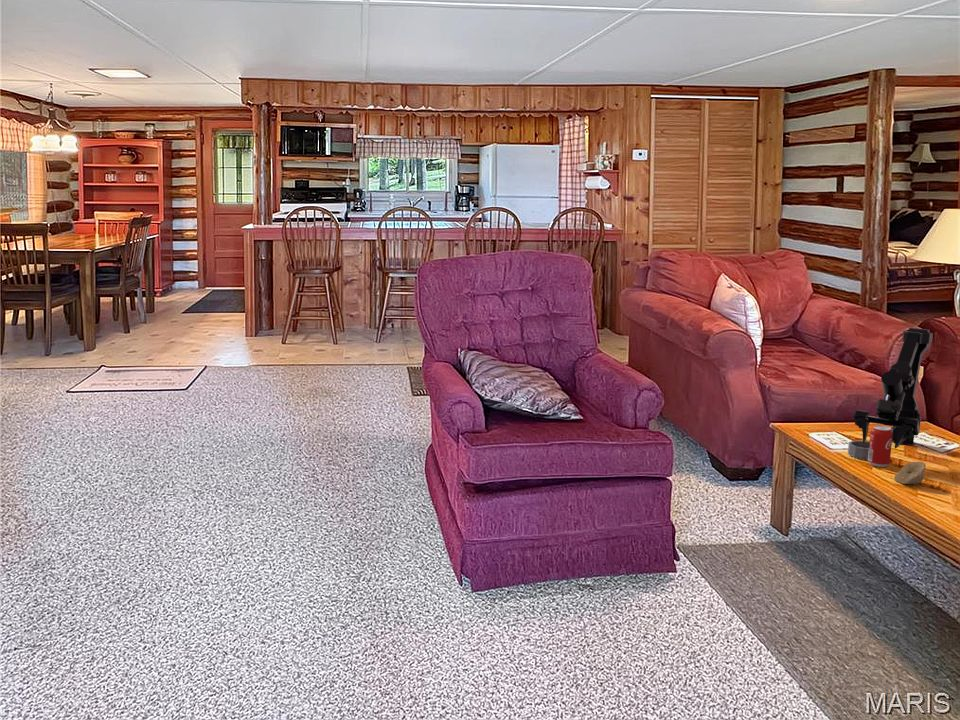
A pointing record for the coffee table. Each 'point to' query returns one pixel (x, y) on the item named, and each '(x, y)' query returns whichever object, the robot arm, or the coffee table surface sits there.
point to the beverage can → (880, 446)
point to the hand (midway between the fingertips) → (879, 444)
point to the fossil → (911, 473)
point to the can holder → (858, 449)
